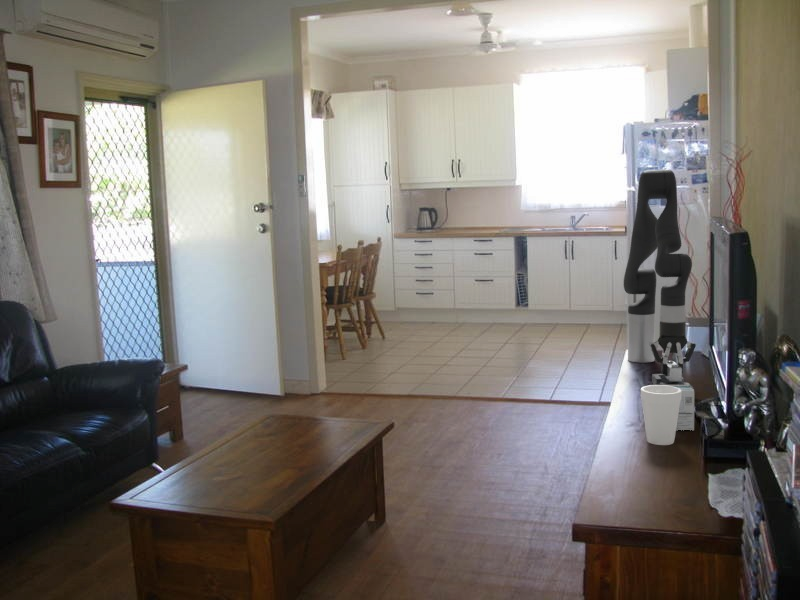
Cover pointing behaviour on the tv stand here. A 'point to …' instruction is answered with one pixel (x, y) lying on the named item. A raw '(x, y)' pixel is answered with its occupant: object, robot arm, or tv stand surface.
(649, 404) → the foam cup
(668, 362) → the bolted link plate
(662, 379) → the end link
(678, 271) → the robot arm
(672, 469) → the tv stand surface
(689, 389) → the light bulb box
